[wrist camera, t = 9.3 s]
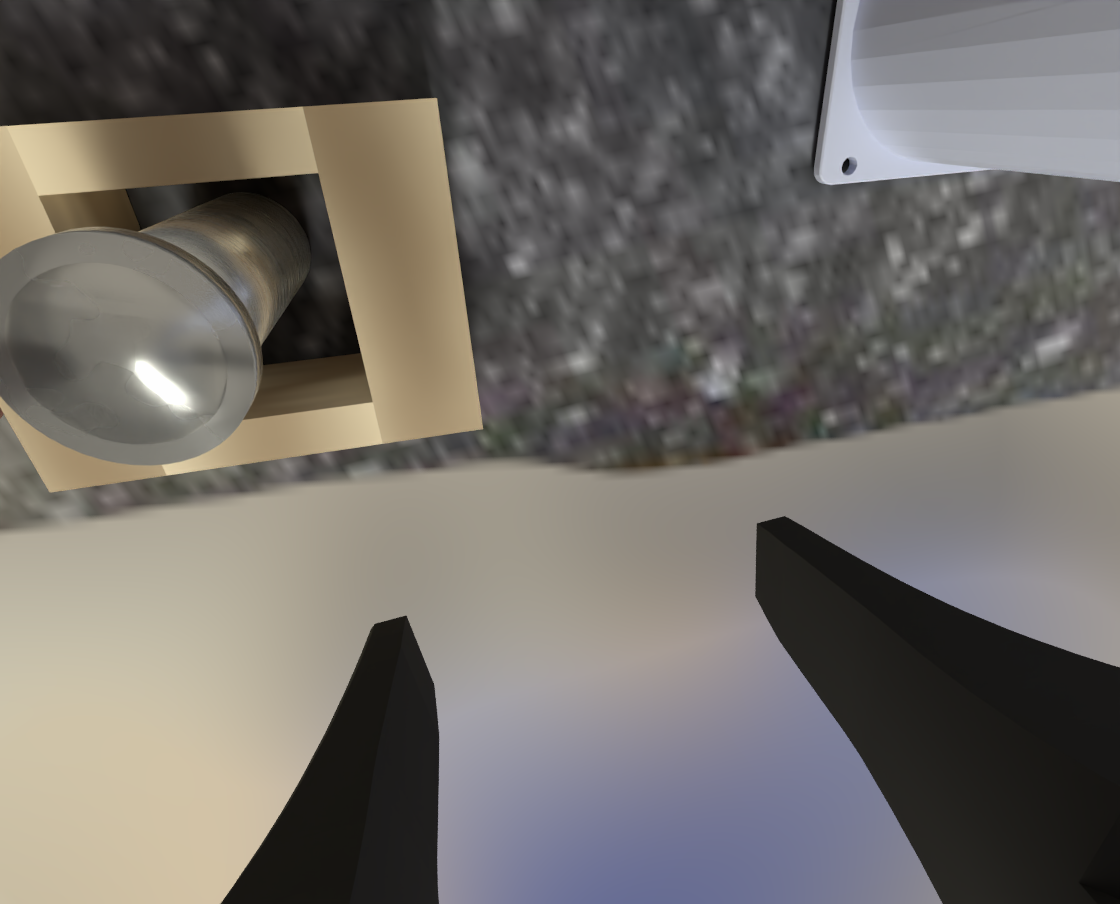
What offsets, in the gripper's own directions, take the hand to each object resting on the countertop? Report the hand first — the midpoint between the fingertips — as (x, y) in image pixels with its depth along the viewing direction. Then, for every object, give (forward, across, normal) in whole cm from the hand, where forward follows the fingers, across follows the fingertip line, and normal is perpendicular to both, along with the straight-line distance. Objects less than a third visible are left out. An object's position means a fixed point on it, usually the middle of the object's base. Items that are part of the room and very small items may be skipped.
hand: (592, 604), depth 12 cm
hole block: (+10, +6, -6) cm, 13 cm away
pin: (+10, +6, -6) cm, 14 cm away
